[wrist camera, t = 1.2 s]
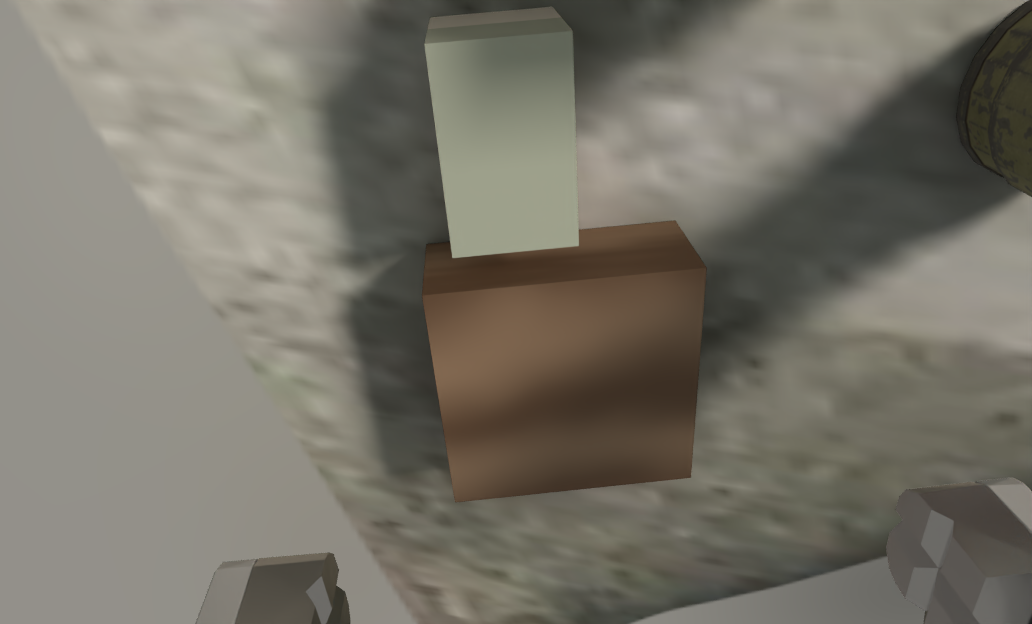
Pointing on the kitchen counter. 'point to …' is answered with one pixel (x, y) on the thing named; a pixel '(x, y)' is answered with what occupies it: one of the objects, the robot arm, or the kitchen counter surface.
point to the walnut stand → (567, 361)
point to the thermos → (1001, 102)
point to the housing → (505, 129)
